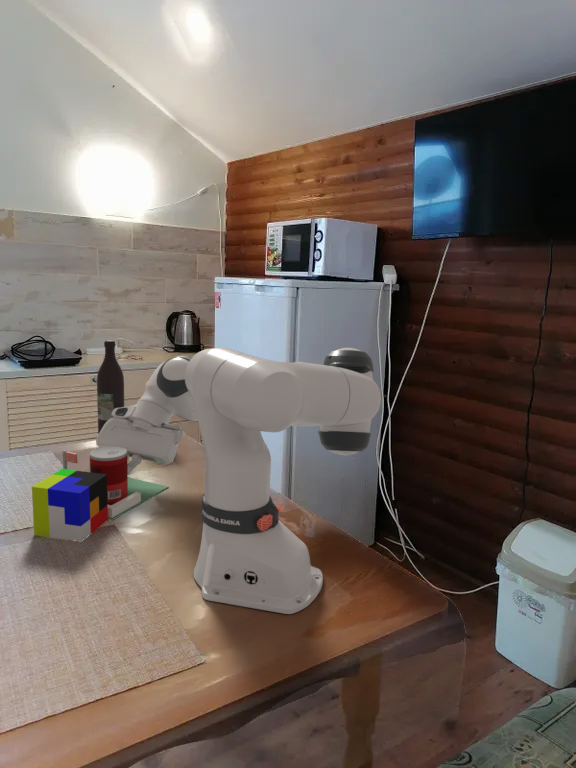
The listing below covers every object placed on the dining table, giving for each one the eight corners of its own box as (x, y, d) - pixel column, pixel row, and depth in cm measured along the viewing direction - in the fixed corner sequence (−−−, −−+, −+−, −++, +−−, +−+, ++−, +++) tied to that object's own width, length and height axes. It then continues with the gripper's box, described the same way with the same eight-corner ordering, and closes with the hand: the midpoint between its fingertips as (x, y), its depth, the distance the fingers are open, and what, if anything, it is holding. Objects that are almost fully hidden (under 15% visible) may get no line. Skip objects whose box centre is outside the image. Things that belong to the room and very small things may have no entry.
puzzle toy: (81, 542, 112) (79, 493, 110) (34, 535, 114) (31, 486, 112) (107, 520, 122) (106, 474, 120) (63, 514, 124) (62, 468, 122)
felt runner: (168, 487, 140) (168, 486, 140) (111, 520, 122) (111, 519, 122) (120, 476, 145) (120, 475, 145) (59, 506, 127) (59, 505, 127)
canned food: (134, 494, 134) (133, 448, 132) (115, 509, 126) (114, 460, 124) (103, 490, 136) (102, 444, 133) (83, 503, 128) (82, 455, 126)
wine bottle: (96, 444, 167) (93, 339, 160) (122, 442, 170) (120, 338, 164) (100, 452, 161) (98, 343, 154) (127, 449, 164) (125, 342, 157)
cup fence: (140, 501, 131) (140, 449, 128) (112, 517, 122) (111, 462, 120) (92, 489, 136) (91, 439, 133) (62, 504, 127) (60, 451, 125)
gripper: (190, 434, 139) (166, 487, 133) (120, 421, 147) (94, 470, 141) (180, 421, 134) (154, 475, 128) (108, 407, 142) (80, 458, 136)
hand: (122, 472), depth 134 cm, fingers closed, pressing on canned food
